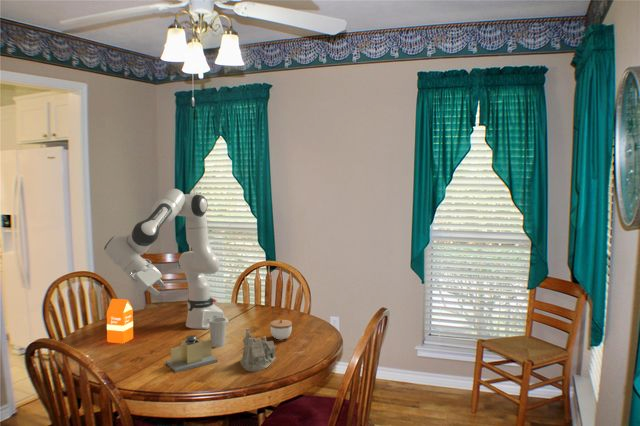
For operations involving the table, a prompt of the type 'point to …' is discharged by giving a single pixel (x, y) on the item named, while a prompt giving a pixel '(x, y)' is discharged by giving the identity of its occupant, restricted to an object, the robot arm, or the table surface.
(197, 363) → the board
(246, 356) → the ceramic cottage
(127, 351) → the table surface
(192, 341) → the hinge pin
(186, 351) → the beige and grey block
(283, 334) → the lidded jar
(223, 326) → the cup
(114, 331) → the orange juice
